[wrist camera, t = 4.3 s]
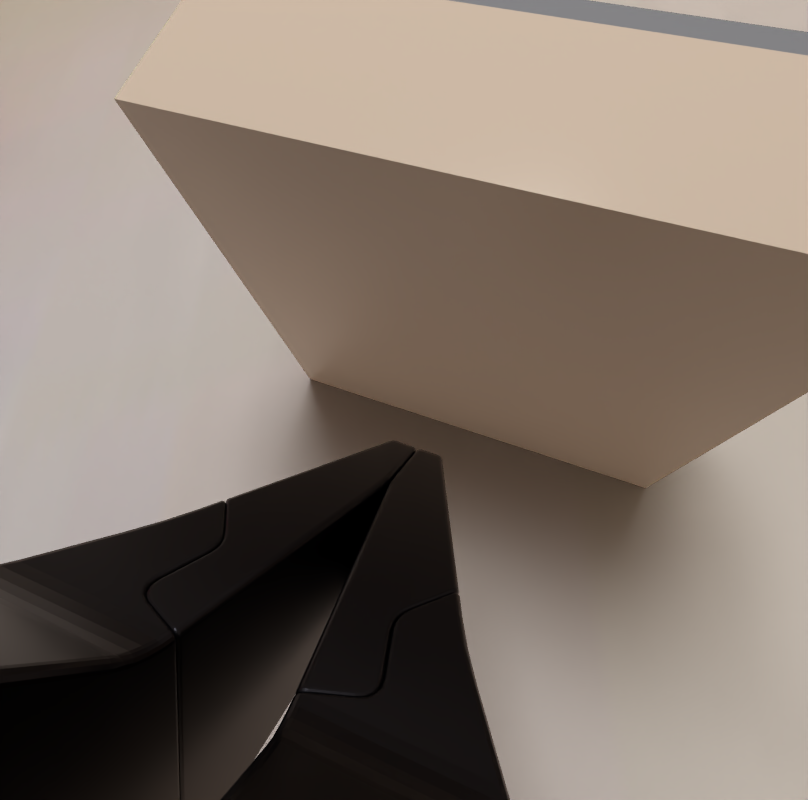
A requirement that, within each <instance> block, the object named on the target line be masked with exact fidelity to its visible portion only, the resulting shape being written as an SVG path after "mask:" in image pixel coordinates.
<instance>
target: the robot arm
mask: <svg viewBox="0 0 808 800" xmlns="http://www.w3.org/2000/svg"><path fill="white" fill-rule="evenodd" d="M458 594H459V590H458V582H457V574H456V566H455V558H454V551H453V543H452V535H451V527H450V519H449V511H448V504H447V496H446V488H445V480H444V472H443V465H442V459H441V457H440V456H438V455H436V454H433V453H430V452H427V451H424V450H417V451H416V449H415V448H414V447H412V446H409V445H406V444H403V443H400V442H398V441H390V442H387V443H384V444H381V445H379V446H376V447H373V448H370V449H367V450H364V451H362V452H359V453H356V454H353V455H350V456H348V457H345V458H342V459H339V460H336V461H334V462H331V463H328V464H325V465H322V466H319V467H317V468H314V469H311V470H308V471H305V472H303V473H300V474H297V475H294V476H291V477H288V478H286V479H283V480H280V481H277V482H274V483H272V484H269V485H266V486H263V487H260V488H258V489H255V490H252V491H249V492H246V493H243V494H241V495H238V496H235V497H232V498H229V499H227V501H226V503H225V502H224V501H220V502H218V503H215V504H212V505H209V506H206V507H203V508H201V509H198V510H195V511H192V512H189V513H186V514H183V515H179V516H176V517H173V518H170V519H167V520H164V521H161V522H157V523H154V524H150V525H147V526H143V527H140V528H136V529H133V530H129V531H126V532H122V533H119V534H115V535H111V536H107V537H103V538H100V539H96V540H92V541H88V542H85V543H81V544H77V545H73V546H70V547H66V548H62V549H58V550H55V551H51V552H47V553H43V554H40V555H36V556H32V557H28V558H25V559H21V560H17V561H12V562H8V563H4V564H0V800H510V798H509V794H508V791H507V788H506V784H505V781H504V778H503V774H502V771H501V767H500V764H499V760H498V757H497V753H496V750H495V746H494V743H493V739H492V736H491V732H490V729H489V725H488V722H487V719H486V715H485V712H484V708H483V705H482V701H481V698H480V694H479V691H478V687H477V684H476V680H475V676H474V672H473V668H472V664H471V660H470V656H469V652H468V647H467V641H466V635H465V630H464V624H463V618H462V611H461V603H460V596H459V595H458ZM295 694H296V695H295ZM291 700H292V702H291ZM290 702H291V704H290ZM289 704H290V706H289V708H288V710H287V712H286V714H285V716H284V718H283V720H282V722H281V724H280V726H279V727H278V729H277V731H276V733H275V734H274V736H273V738H272V739H271V740H270V742H269V743H268V744H267V746H266V747H265V748H264V749H263V750H262V752H261V753H260V754H259V755H258V756H257V754H258V753H259V751H260V749H261V748H262V746H263V745H264V743H265V742H266V740H267V738H268V737H269V735H270V734H271V732H272V730H273V729H274V727H275V726H276V724H277V723H278V721H279V719H280V718H281V716H282V715H283V713H284V711H285V710H286V708H287V707H288V705H289ZM256 756H257V757H256ZM255 757H256V759H255ZM254 759H255V760H254Z"/></svg>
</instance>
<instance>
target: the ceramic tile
mask: <svg viewBox="0 0 808 800" xmlns="http://www.w3.org/2000/svg"><path fill="white" fill-rule="evenodd" d="M114 99H115V101H116V102H117V103H118V105H119V106H120V108H121V109H122V111H123V112H124V113H125V115H126V116H127V118H128V119H129V121H130V122H131V123H132V125H133V126H134V128H135V129H136V131H137V132H138V133H139V135H140V136H141V138H142V139H143V141H144V142H145V143H146V145H147V146H148V148H149V149H150V151H151V152H152V153H153V155H154V156H155V158H156V159H157V161H158V162H159V164H160V165H161V166H162V168H163V169H164V171H165V172H166V174H167V175H168V176H169V178H170V179H171V181H172V182H173V184H174V185H175V186H176V188H177V189H178V191H179V192H180V194H181V195H182V196H183V198H184V199H185V201H186V202H187V204H188V205H189V206H190V208H191V209H192V211H193V212H194V214H195V215H196V216H197V218H198V219H199V221H200V222H201V224H202V225H203V226H204V228H205V229H206V231H207V232H208V234H209V235H210V236H211V238H212V239H213V241H214V242H215V244H216V245H217V246H218V248H219V249H220V251H221V252H222V254H223V255H224V256H225V258H226V259H227V261H228V262H229V264H230V265H231V266H232V268H233V269H234V271H235V272H236V274H237V275H238V276H239V278H240V279H241V281H242V282H243V284H244V285H245V286H246V288H247V289H248V291H249V292H250V294H251V295H252V296H253V298H254V299H255V301H256V302H257V304H258V305H259V306H260V308H261V309H262V311H263V312H264V314H265V315H266V317H267V318H268V319H269V321H270V322H271V324H272V325H273V327H274V328H275V329H276V331H277V332H278V334H279V335H280V337H281V338H282V339H283V341H284V342H285V344H286V345H287V347H288V348H289V349H290V351H291V352H292V354H293V355H294V357H295V358H296V359H297V361H298V362H299V364H300V365H301V367H302V368H303V369H304V371H305V372H306V374H307V375H308V377H309V378H310V379H311V380H314V381H318V382H321V383H324V384H327V385H330V386H333V387H336V388H339V389H342V390H345V391H348V392H351V393H354V394H358V395H361V396H364V397H367V398H370V399H373V400H376V401H379V402H382V403H385V404H388V405H391V406H394V407H398V408H401V409H404V410H407V411H410V412H413V413H416V414H419V415H422V416H425V417H428V418H431V419H434V420H437V421H441V422H444V423H447V424H450V425H453V426H456V427H459V428H462V429H465V430H468V431H471V432H474V433H477V434H481V435H484V436H487V437H490V438H493V439H496V440H499V441H502V442H505V443H508V444H511V445H514V446H517V447H521V448H524V449H527V450H530V451H533V452H536V453H539V454H542V455H545V456H548V457H551V458H554V459H557V460H560V461H564V462H567V463H570V464H573V465H576V466H579V467H582V468H585V469H588V470H591V471H594V472H597V473H600V474H604V475H607V476H610V477H613V478H616V479H619V480H622V481H625V482H628V483H631V484H634V485H637V486H640V487H643V488H647V487H649V486H650V485H652V484H654V483H655V482H657V481H659V480H660V479H662V478H664V477H665V476H667V475H669V474H671V473H672V472H674V471H676V470H677V469H679V468H681V467H682V466H684V465H686V464H687V463H689V462H691V461H693V460H694V459H696V458H698V457H699V456H701V455H703V454H704V453H706V452H708V451H709V450H711V449H713V448H714V447H716V446H718V445H720V444H721V443H723V442H725V441H726V440H728V439H730V438H731V437H733V436H735V435H736V434H738V433H740V432H741V431H743V430H745V429H747V428H748V427H750V426H752V425H753V424H755V423H757V422H758V421H760V420H762V419H763V418H765V417H767V416H768V415H770V414H772V413H774V412H775V411H777V410H779V409H780V408H782V407H784V406H785V405H787V404H789V403H790V402H792V401H794V400H796V399H797V398H799V397H801V396H802V395H804V394H806V393H807V392H808V55H801V54H795V53H788V52H781V51H775V50H768V49H762V48H755V47H749V46H742V45H736V44H729V43H723V42H716V41H710V40H703V39H697V38H690V37H684V36H677V35H671V34H664V33H658V32H651V31H645V30H638V29H632V28H625V27H619V26H612V25H606V24H599V23H593V22H586V21H580V20H573V19H567V18H560V17H554V16H547V15H541V14H534V13H528V12H521V11H515V10H508V9H502V8H495V7H489V6H482V5H475V4H469V3H462V2H456V1H449V0H181V2H180V3H179V5H178V6H177V8H176V9H175V11H174V12H173V14H172V15H171V17H170V18H169V19H168V21H167V22H166V24H165V25H164V27H163V28H162V30H161V31H160V33H159V34H158V35H157V37H156V38H155V40H154V41H153V43H152V44H151V46H150V47H149V49H148V50H147V52H146V53H145V54H144V56H143V57H142V59H141V60H140V62H139V63H138V65H137V66H136V68H135V69H134V70H133V72H132V73H131V75H130V76H129V78H128V79H127V81H126V82H125V84H124V85H123V87H122V88H121V89H120V91H119V92H118V94H117V95H116V97H115V98H114Z"/></svg>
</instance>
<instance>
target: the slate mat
mask: <svg viewBox="0 0 808 800" xmlns="http://www.w3.org/2000/svg"><path fill="white" fill-rule="evenodd" d="M449 1H456V2H462V3H469V4H475V5H482V6H489V7H495V8H502V9H508V10H515V11H521V12H528V13H534V14H541V15H547V16H554V17H560V18H567V19H573V20H580V21H586V22H593V23H599V24H606V25H612V26H619V27H625V28H632V29H638V30H645V31H651V32H658V33H664V34H671V35H677V36H684V37H690V38H697V39H703V40H710V41H716V42H723V43H729V44H736V45H742V46H749V47H755V48H762V49H768V50H775V51H781V52H788V53H795V54H801V55H808V32H803V31H796V30H789V29H782V28H775V27H769V26H762V25H755V24H748V23H741V22H734V21H727V20H720V19H713V18H706V17H699V16H692V15H686V14H679V13H672V12H665V11H658V10H651V9H644V8H637V7H630V6H623V5H616V4H610V3H603V2H596V1H589V0H449Z"/></svg>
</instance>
